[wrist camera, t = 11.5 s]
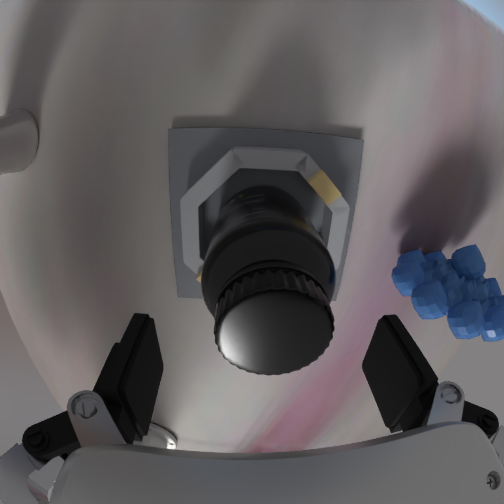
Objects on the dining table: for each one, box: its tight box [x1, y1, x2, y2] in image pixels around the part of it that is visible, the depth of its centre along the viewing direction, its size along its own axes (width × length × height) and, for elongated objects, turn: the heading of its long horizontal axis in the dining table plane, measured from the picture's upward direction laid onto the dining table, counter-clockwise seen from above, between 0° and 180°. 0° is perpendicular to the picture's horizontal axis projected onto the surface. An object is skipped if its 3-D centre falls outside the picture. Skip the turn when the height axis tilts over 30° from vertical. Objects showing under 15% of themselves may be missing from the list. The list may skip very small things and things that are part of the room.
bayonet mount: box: [169, 127, 364, 301], centre depth 20 cm, size 14×14×4 cm
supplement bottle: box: [201, 186, 336, 375], centre depth 16 cm, size 7×7×12 cm
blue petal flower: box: [392, 244, 504, 342], centre depth 18 cm, size 12×7×12 cm, turn 85°
